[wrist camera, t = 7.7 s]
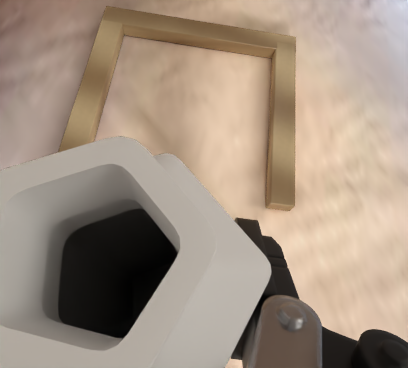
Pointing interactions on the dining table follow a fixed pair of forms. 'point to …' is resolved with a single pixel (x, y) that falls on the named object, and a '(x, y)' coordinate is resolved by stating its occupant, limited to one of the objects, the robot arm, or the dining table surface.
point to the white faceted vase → (120, 263)
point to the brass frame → (207, 38)
